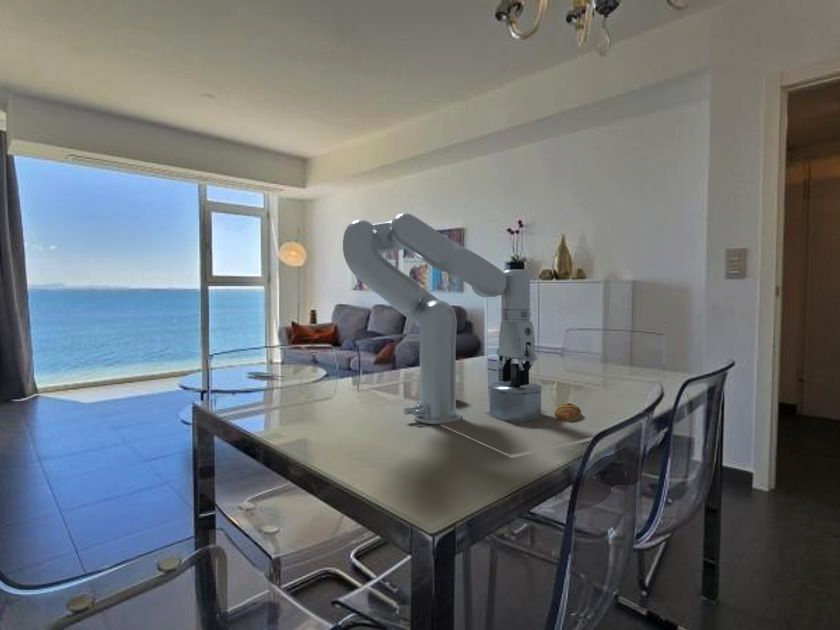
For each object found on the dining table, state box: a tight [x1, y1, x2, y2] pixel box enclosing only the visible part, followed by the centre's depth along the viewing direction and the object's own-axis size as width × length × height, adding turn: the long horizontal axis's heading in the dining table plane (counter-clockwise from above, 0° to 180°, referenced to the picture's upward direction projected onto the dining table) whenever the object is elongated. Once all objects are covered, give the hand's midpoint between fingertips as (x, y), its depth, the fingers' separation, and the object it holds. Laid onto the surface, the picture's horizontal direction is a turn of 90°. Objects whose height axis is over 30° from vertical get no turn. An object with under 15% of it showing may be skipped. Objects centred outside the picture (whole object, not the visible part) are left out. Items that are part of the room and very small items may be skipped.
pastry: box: [554, 402, 582, 423], centre depth 125 cm, size 9×7×4 cm
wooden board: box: [485, 411, 548, 424], centre depth 128 cm, size 12×12×1 cm
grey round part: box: [489, 362, 543, 423], centre depth 128 cm, size 14×14×14 cm
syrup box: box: [486, 355, 514, 403], centre depth 143 cm, size 6×6×14 cm
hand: (515, 382), depth 127 cm, fingers open, 5 cm apart
